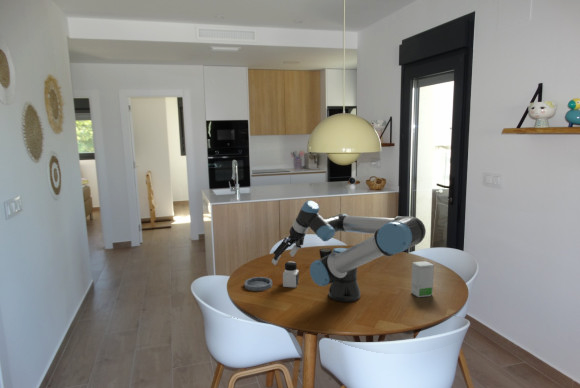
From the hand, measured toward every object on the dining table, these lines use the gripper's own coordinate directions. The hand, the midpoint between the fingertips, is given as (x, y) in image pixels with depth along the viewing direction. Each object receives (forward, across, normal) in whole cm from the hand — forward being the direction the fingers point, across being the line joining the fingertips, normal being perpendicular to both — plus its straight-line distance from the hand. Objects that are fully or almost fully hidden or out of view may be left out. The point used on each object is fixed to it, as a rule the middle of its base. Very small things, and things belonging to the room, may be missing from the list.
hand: (282, 259), depth 203 cm
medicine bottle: (+13, -5, +9) cm, 17 cm away
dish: (+20, +6, -2) cm, 21 cm away
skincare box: (-18, -35, +58) cm, 70 cm away
